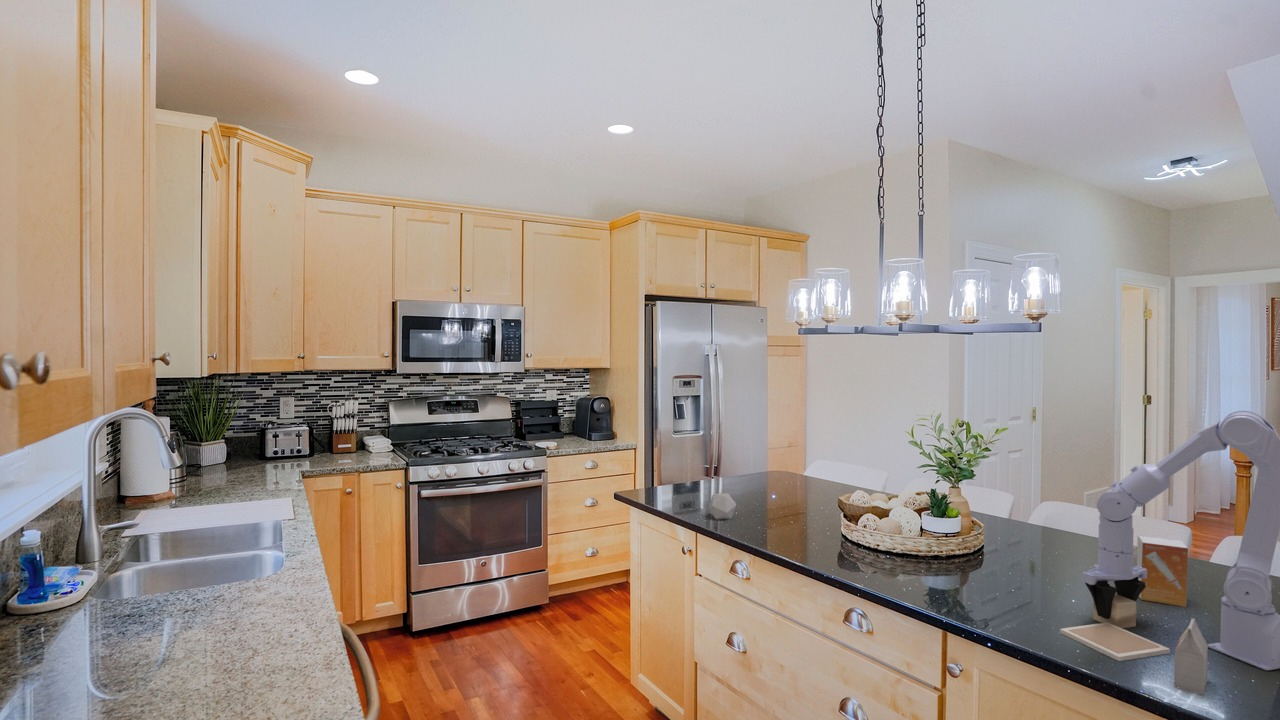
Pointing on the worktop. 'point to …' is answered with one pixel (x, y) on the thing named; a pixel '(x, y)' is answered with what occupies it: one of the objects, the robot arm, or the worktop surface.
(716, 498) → the die
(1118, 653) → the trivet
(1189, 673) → the beige gable-top carton
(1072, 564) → the worktop surface
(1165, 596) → the small box
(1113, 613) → the maple cube
